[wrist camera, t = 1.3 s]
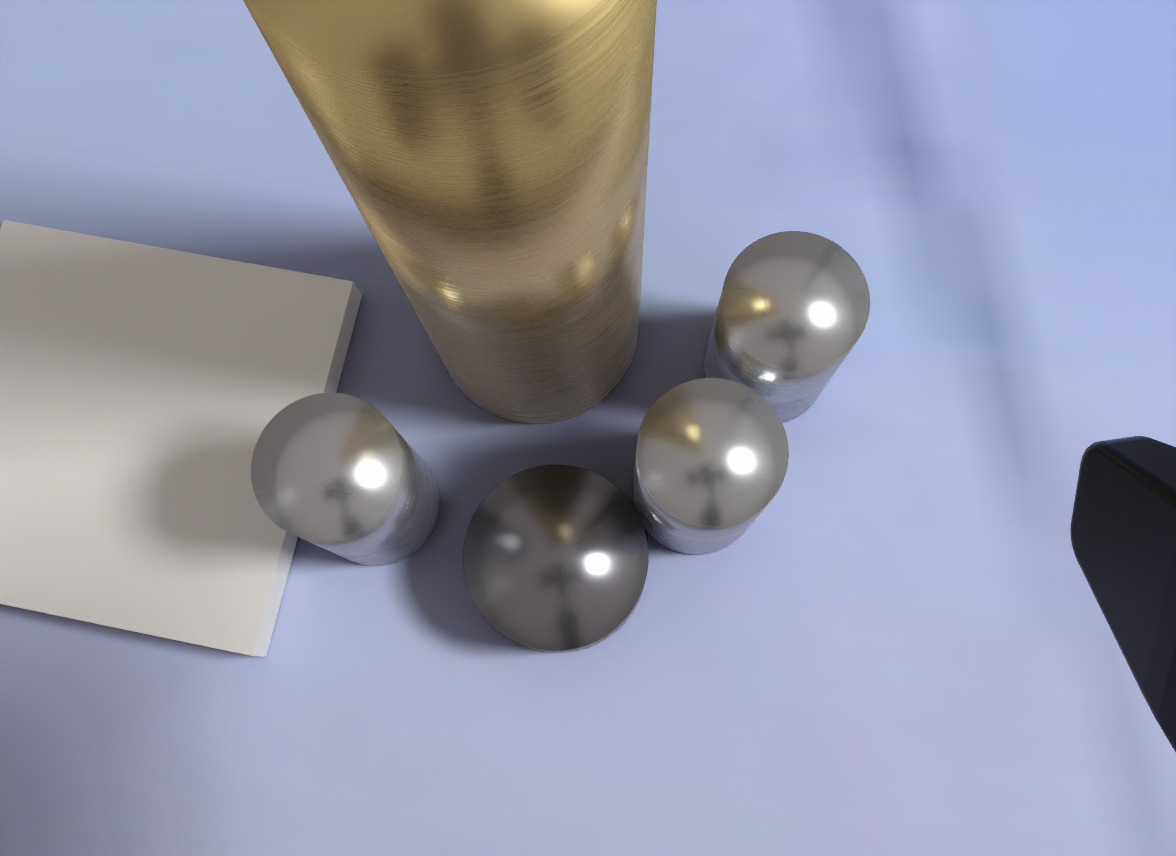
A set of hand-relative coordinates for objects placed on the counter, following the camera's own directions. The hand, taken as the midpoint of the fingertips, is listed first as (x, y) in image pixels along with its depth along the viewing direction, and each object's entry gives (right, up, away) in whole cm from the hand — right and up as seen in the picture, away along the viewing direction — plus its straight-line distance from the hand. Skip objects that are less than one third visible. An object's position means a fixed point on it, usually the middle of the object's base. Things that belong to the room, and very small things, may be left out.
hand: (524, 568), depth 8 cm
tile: (-9, +1, +14) cm, 17 cm away
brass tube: (-1, +3, +14) cm, 15 cm away
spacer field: (0, +1, +14) cm, 14 cm away
